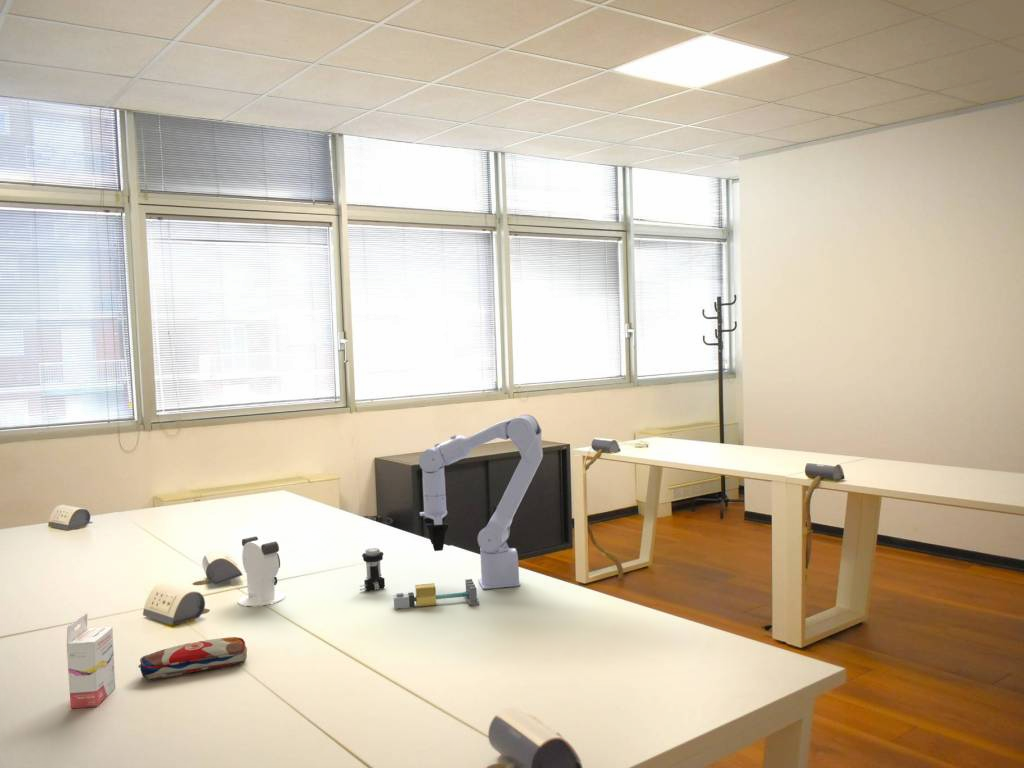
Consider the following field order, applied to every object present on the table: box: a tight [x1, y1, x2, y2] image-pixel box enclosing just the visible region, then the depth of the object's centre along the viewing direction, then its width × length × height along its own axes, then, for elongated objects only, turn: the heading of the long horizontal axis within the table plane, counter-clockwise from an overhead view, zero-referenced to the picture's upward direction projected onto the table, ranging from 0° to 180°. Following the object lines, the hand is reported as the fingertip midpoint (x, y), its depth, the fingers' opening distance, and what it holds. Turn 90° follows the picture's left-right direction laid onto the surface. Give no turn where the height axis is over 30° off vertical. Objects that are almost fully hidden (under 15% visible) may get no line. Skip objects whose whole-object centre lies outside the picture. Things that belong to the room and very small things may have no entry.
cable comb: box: [464, 578, 480, 607], centre depth 202 cm, size 2×9×4 cm, turn 11°
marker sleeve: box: [414, 582, 437, 608], centre depth 200 cm, size 4×3×4 cm
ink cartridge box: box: [66, 613, 116, 709], centre depth 152 cm, size 9×5×15 cm, turn 5°
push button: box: [359, 547, 386, 592], centre depth 214 cm, size 7×5×10 cm
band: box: [407, 591, 416, 608], centre depth 199 cm, size 1×3×3 cm, turn 10°
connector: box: [393, 592, 410, 610], centre depth 199 cm, size 4×3×3 cm
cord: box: [414, 591, 468, 602], centre depth 200 cm, size 16×1×1 cm, turn 101°
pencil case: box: [137, 636, 248, 680], centre depth 165 cm, size 11×20×5 cm, turn 99°
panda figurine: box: [237, 535, 286, 607], centre depth 209 cm, size 12×11×15 cm
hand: (437, 547), depth 217 cm, fingers open, 7 cm apart
